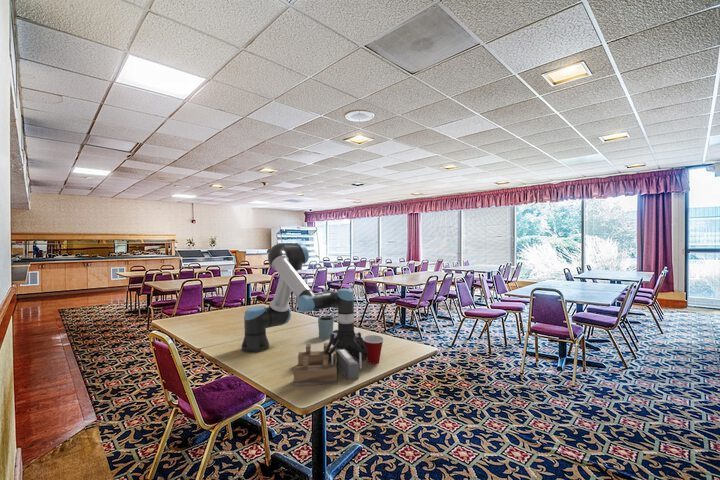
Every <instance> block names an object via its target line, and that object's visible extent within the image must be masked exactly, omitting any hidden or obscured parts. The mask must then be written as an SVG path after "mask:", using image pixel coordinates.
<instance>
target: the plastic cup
mask: <svg viewBox="0 0 720 480" xmlns="http://www.w3.org/2000/svg"><path fill="white" fill-rule="evenodd" d="M362 338H363V341H364V344H365V346H366V348H367V350H368V352H367V353H366V355H367V358H366V360H367V363H369V364H379V363H380V360H381V355H382V354H381V353H382V347H383V342H384V340H385V337H383V336H381V335H376V334H368V335H365V336H363V337H362Z"/></svg>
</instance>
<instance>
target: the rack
mask: <svg viewBox="0 0 720 480" xmlns="http://www.w3.org/2000/svg"><path fill="white" fill-rule="evenodd" d="M328 343H329V342H323V350H317V351H316V350H315V351H313V350H312V349H311V346H312V345H311V344H312V343H306V345H305V351H299V352H298V354H297V365H296V366H294V368H293V386H309V385H310V386H311V385H327V384H330V385H331V384H337V383H338V381H337V380H338V379H337V376H338V373H337V364H336V350H335V351H334V352H333V353H332V354H333V365H332V362H329V355H328V354H325V350H326V348H327V346H328Z"/></svg>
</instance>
